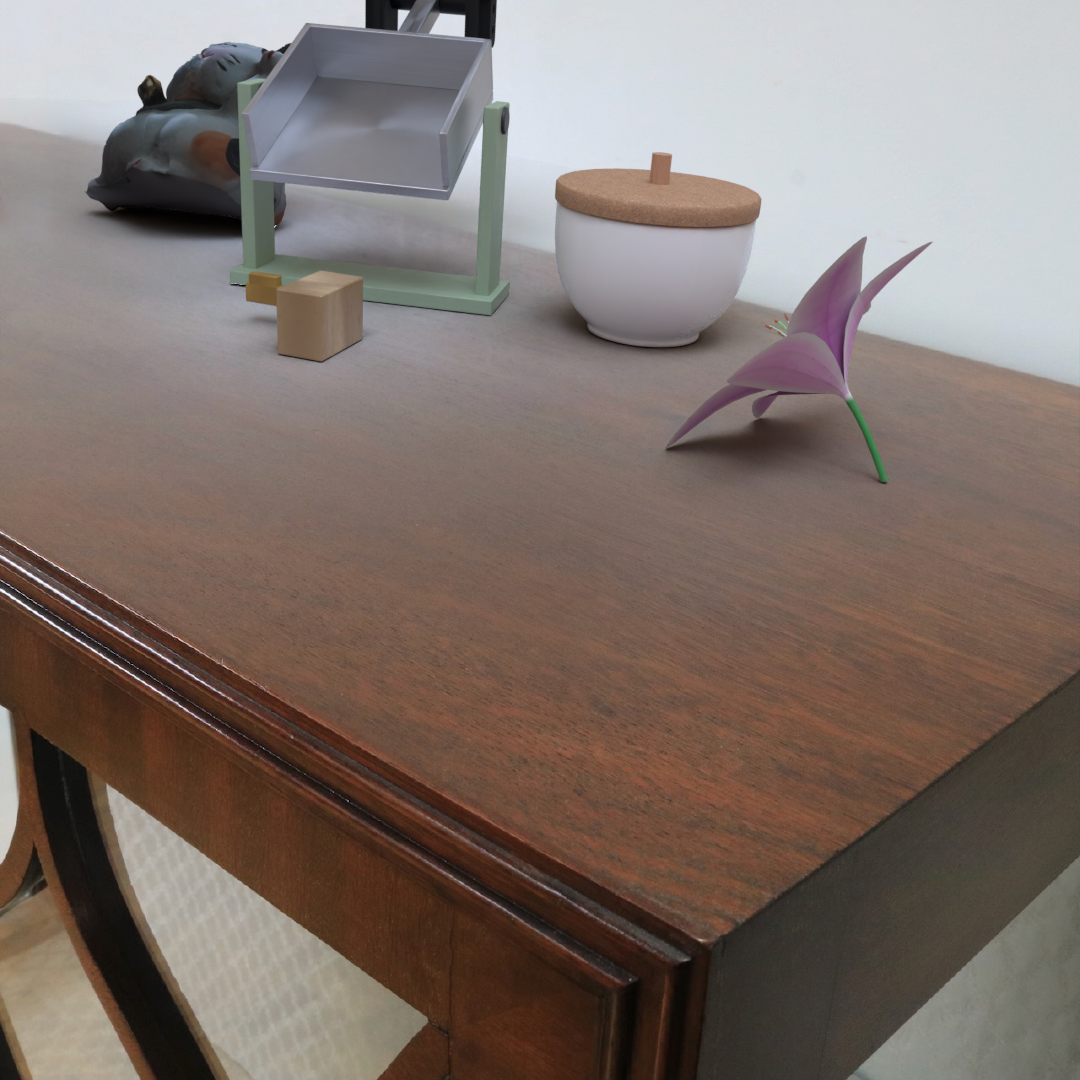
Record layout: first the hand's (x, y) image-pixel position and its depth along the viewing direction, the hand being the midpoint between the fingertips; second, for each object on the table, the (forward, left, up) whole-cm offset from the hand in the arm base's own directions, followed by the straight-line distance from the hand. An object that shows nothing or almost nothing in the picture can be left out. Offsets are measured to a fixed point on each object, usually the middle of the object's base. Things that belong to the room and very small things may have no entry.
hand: (429, 52), depth 76 cm
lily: (+24, -30, -12) cm, 40 cm away
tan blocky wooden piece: (-1, -20, -11) cm, 23 cm away
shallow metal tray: (0, -7, -2) cm, 7 cm away
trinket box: (+16, -14, -12) cm, 24 cm away
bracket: (0, -12, -12) cm, 17 cm away
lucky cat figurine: (-17, +2, -12) cm, 21 cm away
